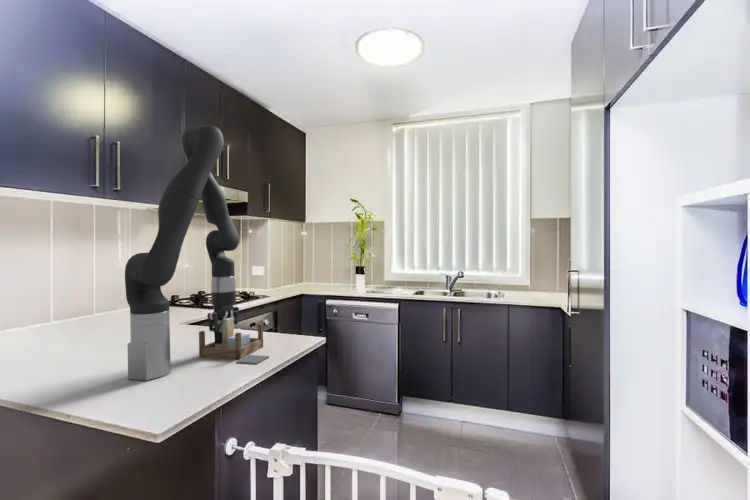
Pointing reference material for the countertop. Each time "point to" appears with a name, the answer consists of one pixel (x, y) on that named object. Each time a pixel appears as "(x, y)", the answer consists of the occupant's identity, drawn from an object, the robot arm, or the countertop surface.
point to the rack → (227, 353)
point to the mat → (252, 359)
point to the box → (225, 332)
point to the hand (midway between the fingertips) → (224, 340)
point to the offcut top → (244, 340)
